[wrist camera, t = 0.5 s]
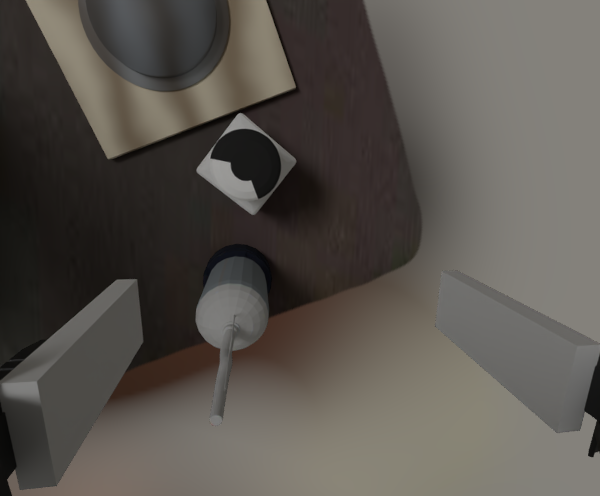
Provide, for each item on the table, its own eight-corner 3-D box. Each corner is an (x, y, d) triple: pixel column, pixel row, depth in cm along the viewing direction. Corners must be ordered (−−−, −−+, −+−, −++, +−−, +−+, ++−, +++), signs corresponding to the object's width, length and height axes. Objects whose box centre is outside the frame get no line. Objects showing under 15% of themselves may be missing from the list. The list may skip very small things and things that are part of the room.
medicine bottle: (242, 120, 39) (237, 101, 27) (290, 161, 40) (305, 159, 29) (204, 170, 39) (184, 172, 28) (254, 208, 41) (253, 225, 29)
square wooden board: (111, 159, 38) (102, 158, 35) (-5, -67, 32) (-26, -86, 29) (294, 89, 38) (297, 84, 36) (214, -145, 33) (211, -170, 30)
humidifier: (199, 298, 43) (127, 470, 19) (213, 237, 41) (155, 337, 17) (262, 311, 44) (270, 485, 20) (277, 252, 43) (308, 364, 19)
